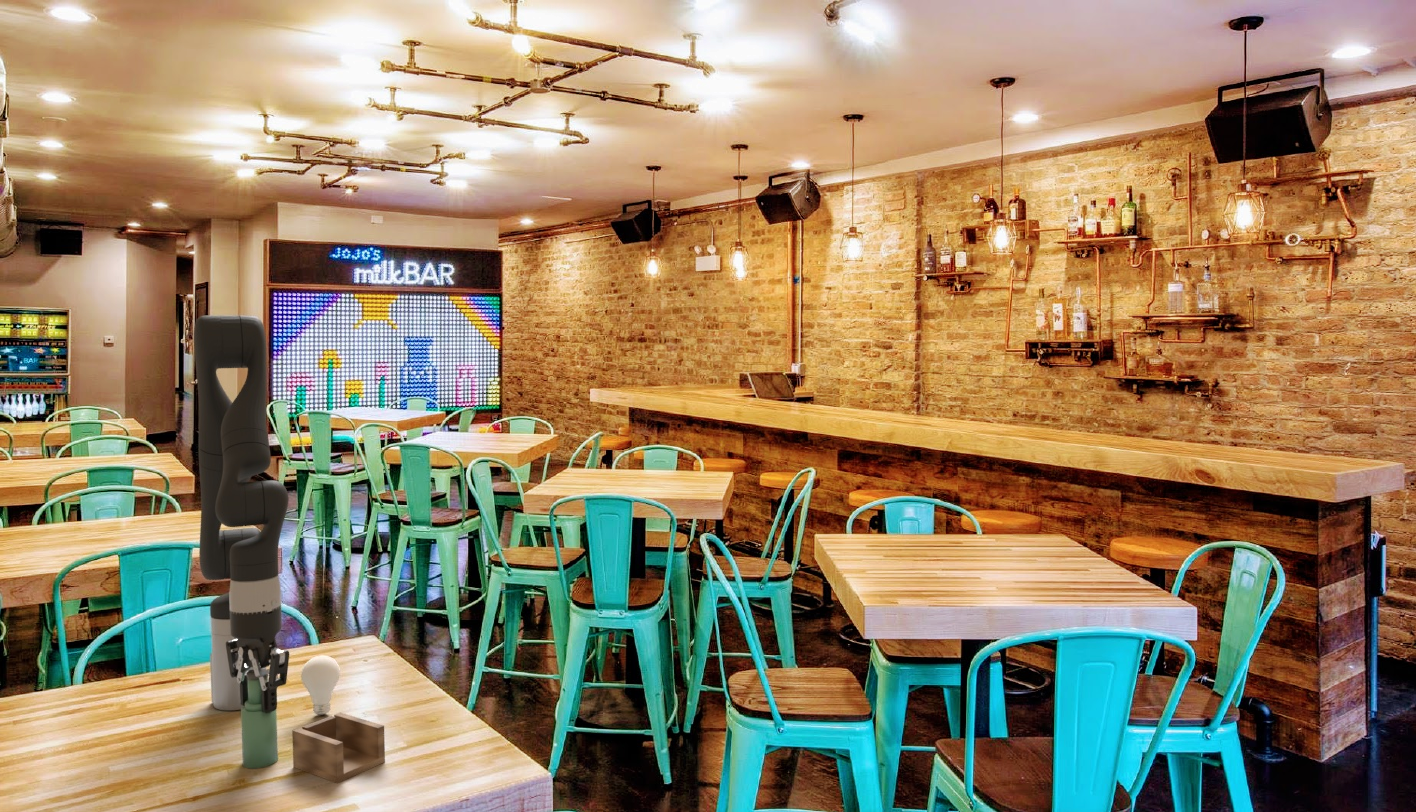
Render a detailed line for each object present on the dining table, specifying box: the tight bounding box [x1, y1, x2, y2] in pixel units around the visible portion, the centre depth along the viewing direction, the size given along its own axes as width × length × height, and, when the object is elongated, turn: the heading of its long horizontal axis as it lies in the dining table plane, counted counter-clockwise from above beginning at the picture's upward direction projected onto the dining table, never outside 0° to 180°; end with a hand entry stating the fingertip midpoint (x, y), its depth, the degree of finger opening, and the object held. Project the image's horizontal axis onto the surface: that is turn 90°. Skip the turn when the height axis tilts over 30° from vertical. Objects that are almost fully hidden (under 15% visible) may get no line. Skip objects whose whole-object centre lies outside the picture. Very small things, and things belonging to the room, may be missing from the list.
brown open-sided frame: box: [291, 712, 386, 784], centre depth 154 cm, size 11×9×6 cm
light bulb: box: [300, 655, 341, 717], centre depth 175 cm, size 7×7×11 cm
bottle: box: [240, 668, 279, 769], centre depth 155 cm, size 5×5×15 cm
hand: (258, 707), depth 155 cm, fingers closed on bottle, 5 cm apart
